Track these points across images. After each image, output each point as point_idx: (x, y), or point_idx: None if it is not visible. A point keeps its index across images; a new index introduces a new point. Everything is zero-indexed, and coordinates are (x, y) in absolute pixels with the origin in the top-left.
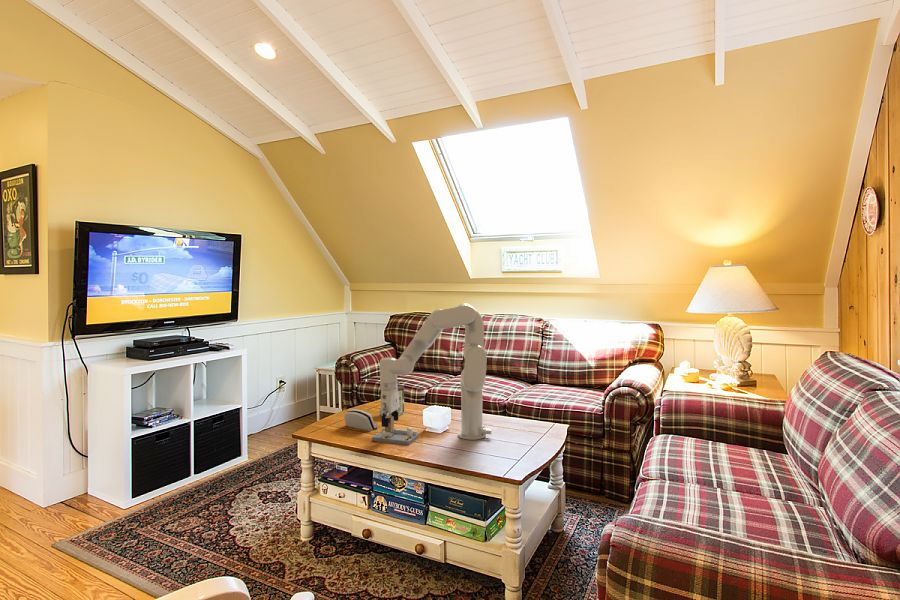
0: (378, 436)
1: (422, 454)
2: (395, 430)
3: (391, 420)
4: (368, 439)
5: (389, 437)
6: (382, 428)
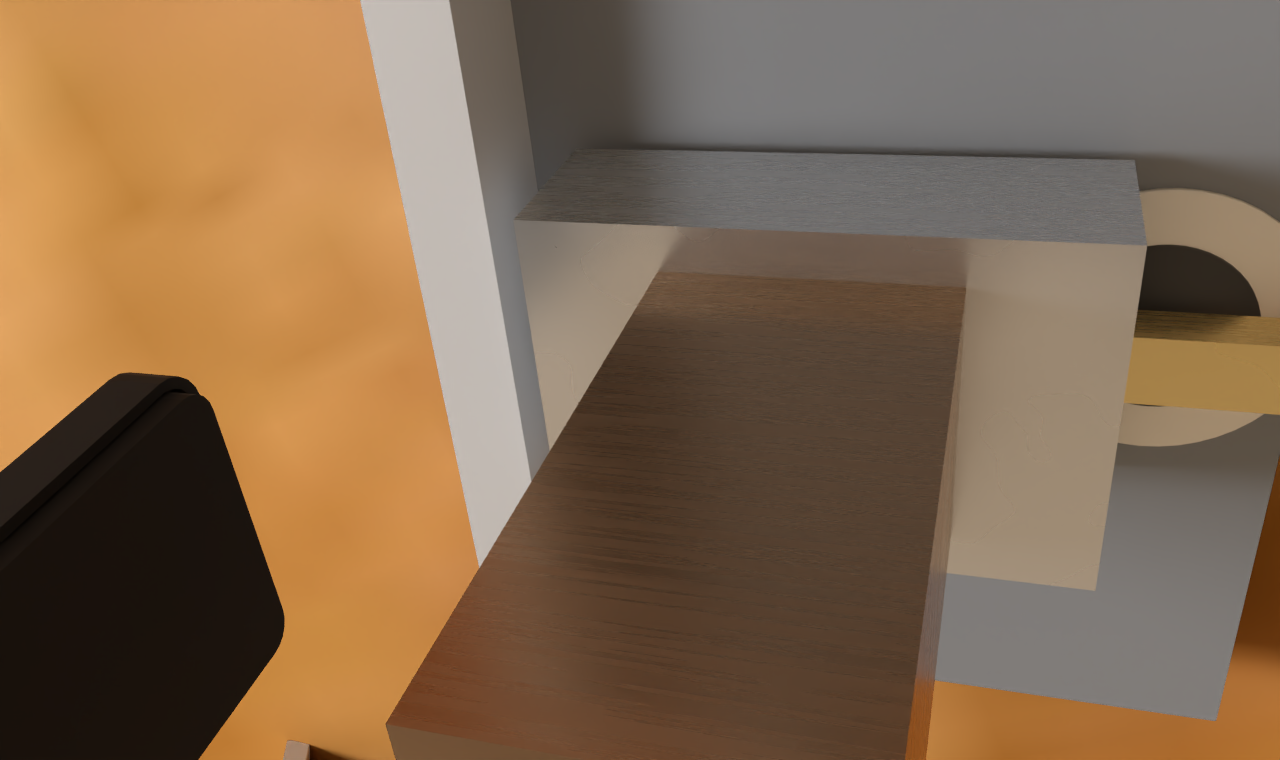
0: None
1: None
2: (612, 199)
3: (798, 623)
4: (1109, 741)
5: None
6: None
